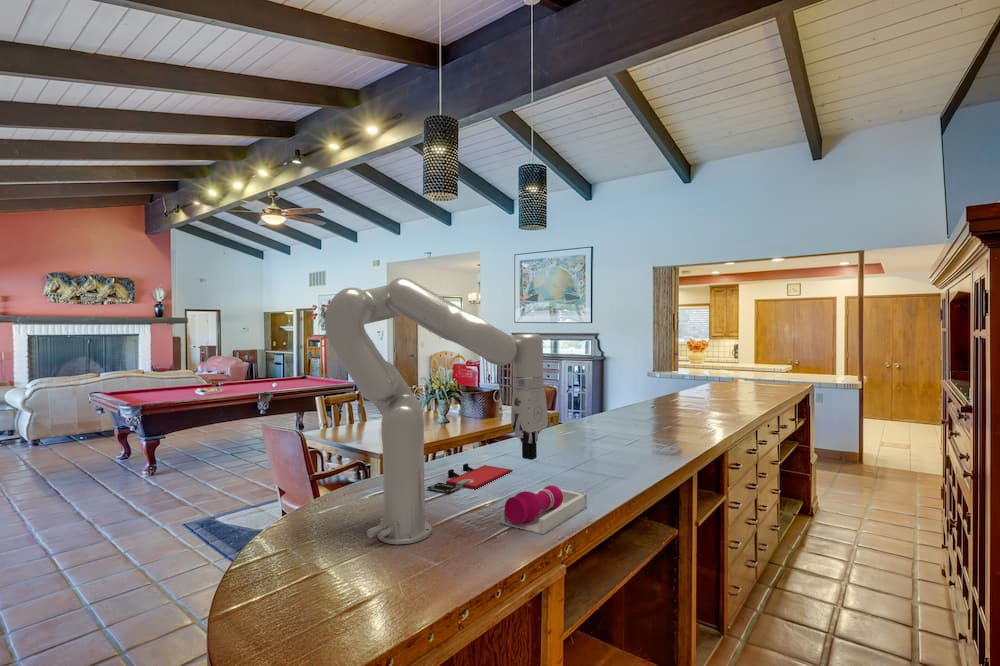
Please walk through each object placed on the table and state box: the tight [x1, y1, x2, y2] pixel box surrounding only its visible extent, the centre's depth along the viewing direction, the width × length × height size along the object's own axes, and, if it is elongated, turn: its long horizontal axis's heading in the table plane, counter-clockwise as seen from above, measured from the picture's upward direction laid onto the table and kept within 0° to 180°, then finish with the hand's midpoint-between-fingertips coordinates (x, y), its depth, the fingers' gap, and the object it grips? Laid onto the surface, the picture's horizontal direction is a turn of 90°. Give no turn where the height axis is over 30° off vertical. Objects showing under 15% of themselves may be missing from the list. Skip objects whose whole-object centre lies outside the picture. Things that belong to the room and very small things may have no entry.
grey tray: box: [499, 487, 588, 536], centre depth 128 cm, size 22×12×4 cm, turn 143°
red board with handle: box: [426, 463, 514, 494], centre depth 160 cm, size 30×3×15 cm
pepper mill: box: [504, 484, 563, 524], centre depth 127 cm, size 7×7×20 cm
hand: (529, 458), depth 122 cm, fingers closed
